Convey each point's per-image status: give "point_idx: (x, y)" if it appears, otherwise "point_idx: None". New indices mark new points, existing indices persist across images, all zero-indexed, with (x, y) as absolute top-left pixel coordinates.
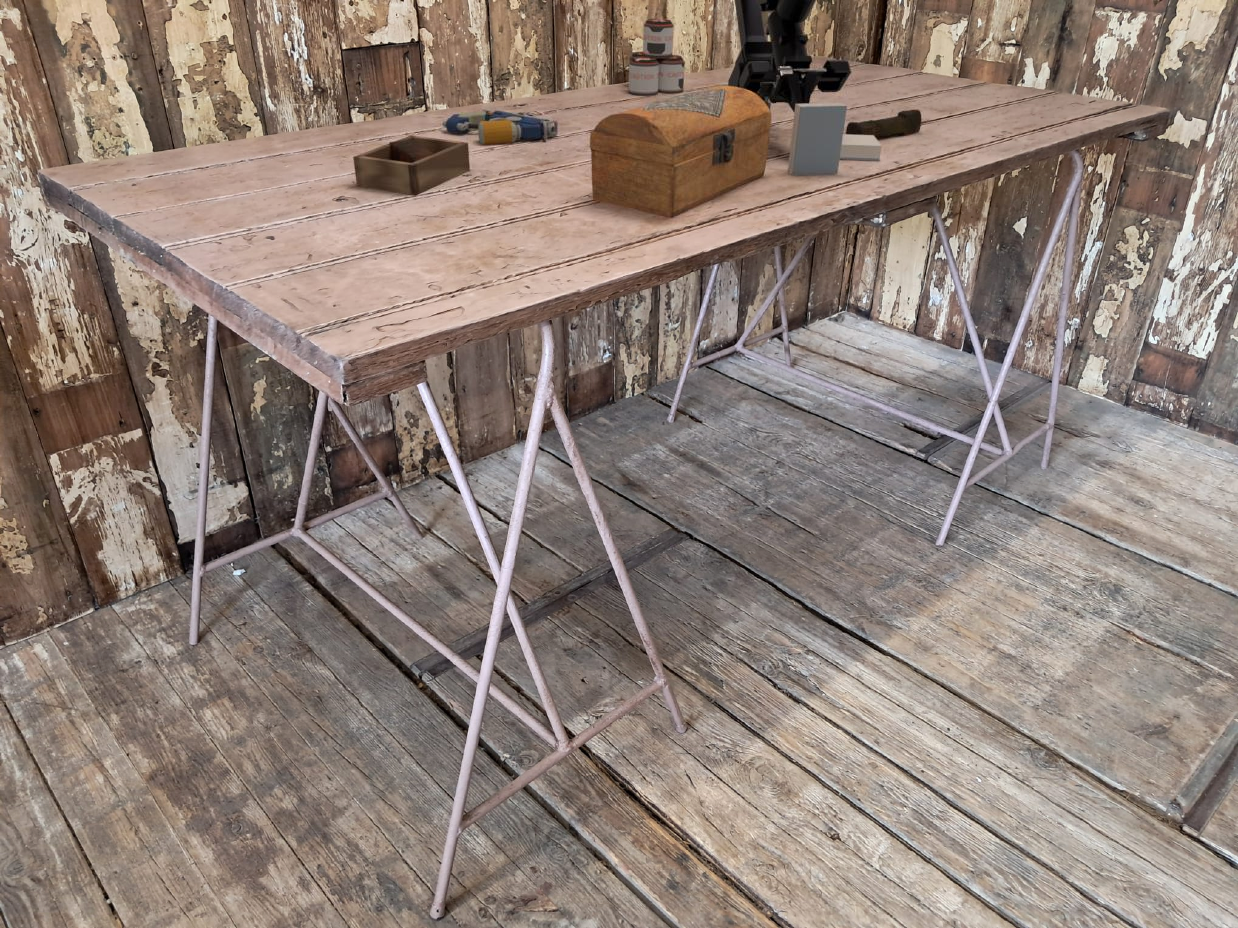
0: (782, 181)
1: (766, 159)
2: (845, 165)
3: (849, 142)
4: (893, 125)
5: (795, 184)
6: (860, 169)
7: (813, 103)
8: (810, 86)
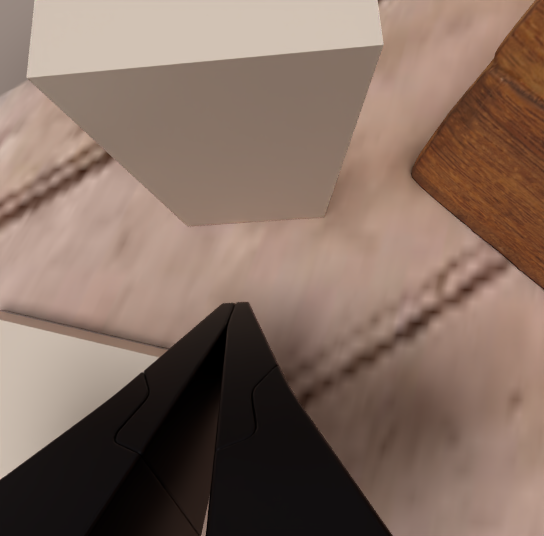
0: (367, 122)
1: (430, 138)
2: (126, 270)
3: (38, 370)
4: None
5: None
6: (102, 224)
7: (238, 54)
8: (79, 447)
